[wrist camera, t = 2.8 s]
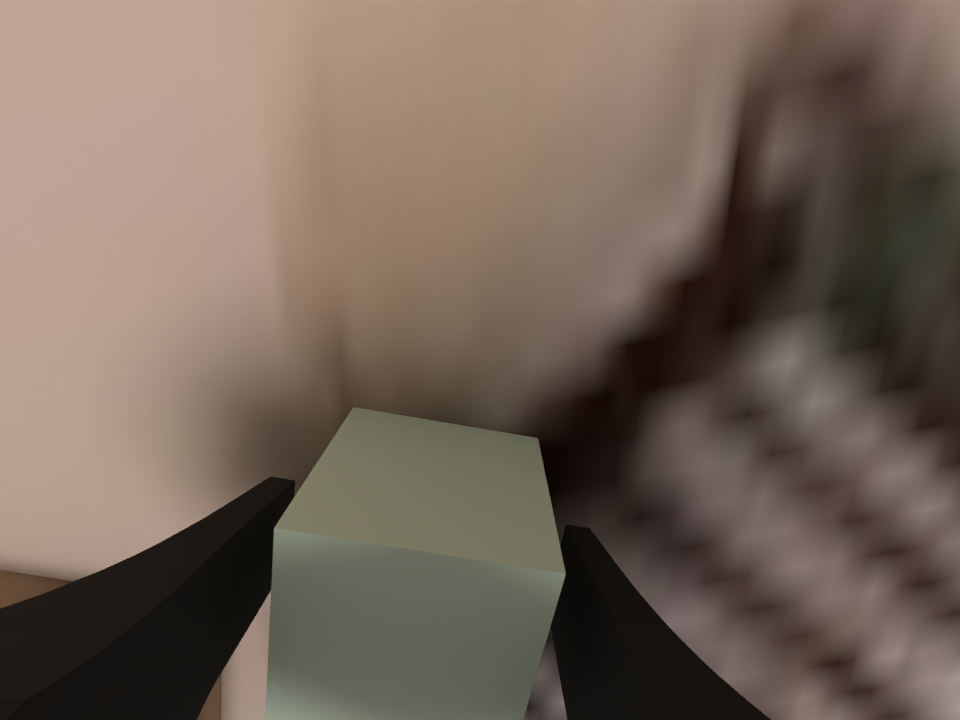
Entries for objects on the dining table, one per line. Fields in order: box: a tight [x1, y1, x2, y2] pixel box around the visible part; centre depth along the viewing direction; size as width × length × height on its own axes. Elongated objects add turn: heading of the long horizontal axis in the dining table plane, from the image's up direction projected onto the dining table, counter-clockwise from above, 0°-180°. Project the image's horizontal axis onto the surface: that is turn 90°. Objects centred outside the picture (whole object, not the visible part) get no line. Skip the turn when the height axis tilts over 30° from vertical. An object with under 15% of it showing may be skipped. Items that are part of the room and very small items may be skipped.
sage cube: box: [266, 407, 566, 720], centre depth 11 cm, size 5×5×5 cm
